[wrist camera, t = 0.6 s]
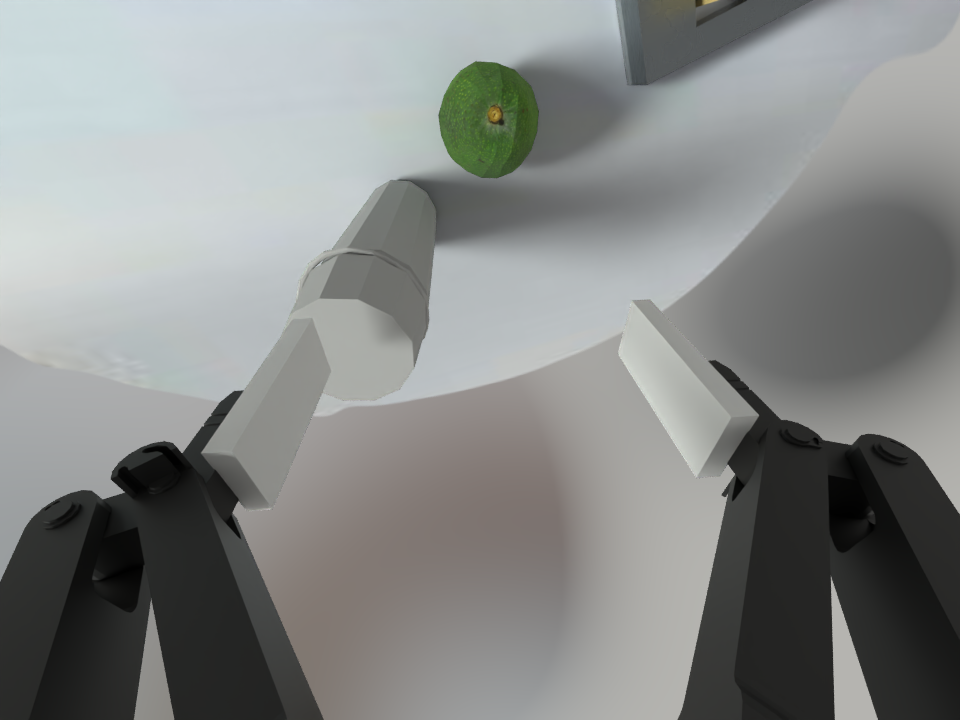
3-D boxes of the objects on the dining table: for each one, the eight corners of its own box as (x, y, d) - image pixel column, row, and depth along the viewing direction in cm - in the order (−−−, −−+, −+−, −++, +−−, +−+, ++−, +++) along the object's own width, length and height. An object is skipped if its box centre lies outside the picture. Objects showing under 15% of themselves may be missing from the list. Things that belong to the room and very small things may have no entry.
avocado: (534, 74, 31) (571, 69, 22) (515, 172, 36) (539, 203, 26) (444, 55, 30) (441, 41, 21) (436, 160, 35) (431, 187, 25)
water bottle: (426, 165, 35) (395, 268, 15) (446, 243, 40) (443, 397, 20) (337, 187, 36) (197, 313, 16) (368, 261, 40) (289, 428, 21)
